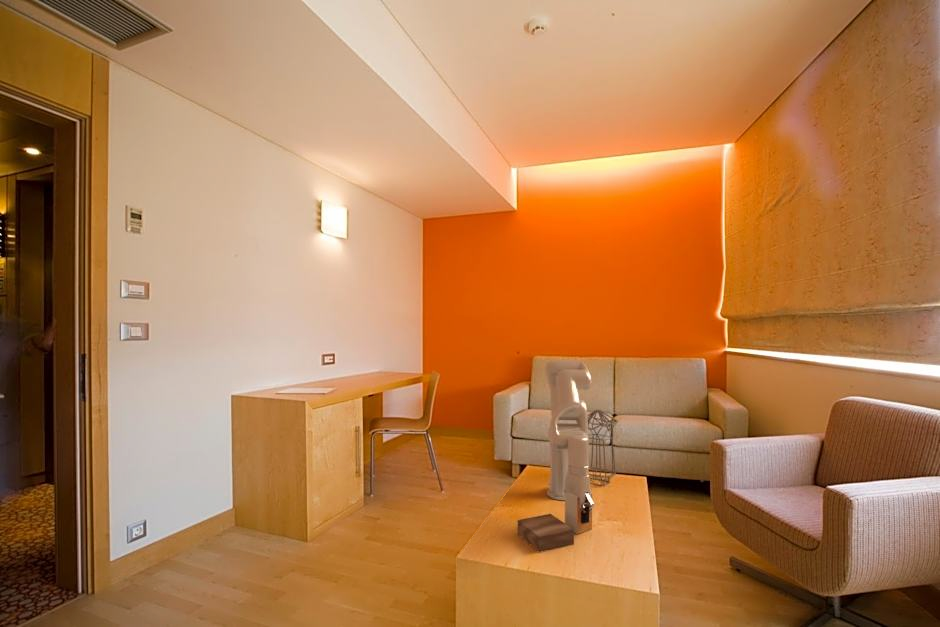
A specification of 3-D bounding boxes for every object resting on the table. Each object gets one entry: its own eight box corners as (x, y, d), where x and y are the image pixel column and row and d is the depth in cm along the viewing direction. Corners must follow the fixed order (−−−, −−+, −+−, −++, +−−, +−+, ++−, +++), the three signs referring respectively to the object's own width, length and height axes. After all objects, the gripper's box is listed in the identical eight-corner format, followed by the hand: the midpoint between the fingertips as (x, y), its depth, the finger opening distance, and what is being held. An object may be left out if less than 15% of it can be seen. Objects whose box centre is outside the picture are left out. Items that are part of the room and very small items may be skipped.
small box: (577, 534, 154) (577, 497, 155) (564, 528, 159) (564, 492, 160) (592, 529, 159) (592, 493, 159) (579, 523, 164) (579, 488, 165)
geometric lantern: (576, 482, 210) (575, 409, 213) (592, 475, 221) (591, 406, 224) (606, 490, 199) (605, 413, 201) (621, 482, 210) (620, 409, 213)
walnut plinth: (517, 534, 154) (517, 520, 155) (550, 527, 160) (550, 513, 160) (539, 552, 141) (539, 536, 142) (573, 544, 147) (573, 529, 147)
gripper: (556, 464, 166) (556, 511, 166) (585, 478, 151) (585, 530, 150) (571, 462, 170) (572, 508, 169) (602, 475, 154) (602, 526, 153)
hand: (578, 518), depth 159 cm, fingers closed on small box, 6 cm apart
